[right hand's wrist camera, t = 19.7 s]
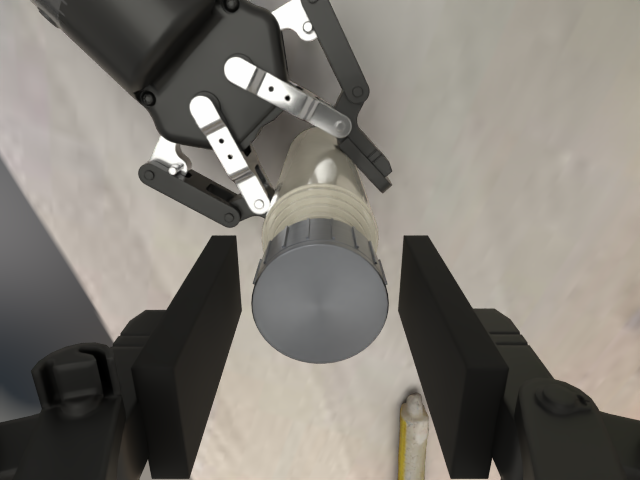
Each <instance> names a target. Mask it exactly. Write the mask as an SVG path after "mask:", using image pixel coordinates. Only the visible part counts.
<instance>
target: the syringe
mask: <svg viewBox="0 0 640 480" xmlns="http://www.w3.org/2000/svg"><path fill="white" fill-rule="evenodd" d="M428 418H429V417H428V415H427V413H426V411H425V408H424V406H423V404H422V398H421V395H420V394H419V393H414V394H412V395H409V396H408V397H407V400H406V403H403V404H402V406H401V409H400V441H399V455H398V480H424V474H425V455H426V445H427V437H428V431H429V429H428Z"/></svg>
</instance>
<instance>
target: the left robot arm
mask: <svg viewBox="0 0 640 480" xmlns="http://www.w3.org/2000/svg"><path fill="white" fill-rule="evenodd" d="M30 1H32V2H33V3H34V4H35V5H36V6H37V8H38V9H39V12H40V13H41V14H42V15H43V16H44V17H45V18H46V19H47V20H48V21H49V22H51V23H52V24H53V25H54V26H55V27H57V28H60V29H61V30H62V31H63V32H64V33H65V34H66V35H67V36H69V37H70V38H71V39H72V40H73V41H74V42H75V43H76V44H77V45H78V46H79V47H80V48H81V49H82V50H83V51H84V52H86V53H87V54H88V55H89V56H90V57H91V58H92V59H93V60H94V61H95V62H96V63H97V64H98V65H99V66H100V67H101V68H102V69H104V70H105V71H106V72H107V73H108V74H109V75H110V76H111V77H112V78H113V79H114V80H115V81H116V82H117V83H118V84H119V85H120V86H122V87H123V88H124V89H125V90H126V91H127V92H128V93H129V94H130V95H131V96H132V97H133V98H134V99H136V100H137V101H138V102H139V103H140V104H141V105H143V106H144V107H145V108H146V109H147V111H148V112H149V113H150V115H151V117H152V119H153V121H154V123H155V126H156V129H157V130H158V132H159V134H160V135H161V136H160V138H159V140H158V142H157V145H156V147H155V149H154V151H153V154H152V156H151V158H150V160H149V161H148V162H147V163H145V164H144V165H143V166H141V167H140V169H139V172H138V175H139V178H140V180H141V181H142V182H143V183H144V184H146V185H148V186H149V187H151V188H153V189H155V190H157V191H159V192H161V193H163V194H165V195H166V196H168V197H170V198H172V199H174V200H176V201H178V202H180V203H182V204H183V205H185V206H187V207H189V208H191V209H193V210H195V211H197V212H199V213H200V214H202V215H204V216H206V217H208V218H210V219H212V220H214V221H216V222H218V223H219V224H221V225H223V226H225V227H229V228H231V227H235V226H236V225H237V224H238V223H239V222H240V221H242V220H244V219H247V218H249V217H252V216H261V217H263V218H266V215H267V212H268V209H269V206H270V203H271V200H272V197H273V194H274V192H275V190H274V189H273V187H272V185H271V183H270V181H269V179H268V178H267V176H266V174H265V172H264V170H263V168H262V166H261V164H260V162H259V158H258V155H257V153H256V151H255V150H254V148H253V146H252V144H251V143H252V142H253V141H254V140H255V138H256V137H257V136H258V135H259V133H260V131H261V129H262V127H263V126H264V125H266V124H268V123H269V122H271V121H273V120H274V119H275V118H276V117H277V116H278V115H279V114H280V113H281V112H282V111H283V110H284V111H286V112H288V113H290V114H292V115H293V116H295V117H297V118H299V119H301V120H304V121H307V122H309V123H310V124H312V125H314V126H316V127H318V128H319V129H321V130H323V131H325V132H327V133H329V134H330V135H332V136H334V137H336V139H337V143H338V147H339V148H340V149H341V150H342V151H343V152H344V153H345V154H346V155H347V156H348V157H349V158H350V159H351V160H352V161H353V163H354V164H355V165H356V166H357V167H358V168H359V169H360V170H361V171H362V172H363V173H364V175H365V176H366V177H367V178H368V179H369V180H370V181H371V182H372V183H373V184H374V185H375V186H376V187H377V188H378V189H379V191H381V192H382V193H384V192H385V191H386V190H387V189H388V188H389V187H391V186H392V184H391V182H390V180H389V179H388V177H387V176H388V175H389V174H390V173H391V172H392V169H391V166H390V163H389V161H388V160H387V158H386V157H385V156H384V155H383V154H382V153H381V151H380V150H379V149H378V148H377V147H376V146H375V145H374V144H373V143H372V141H371V140H370V139H369V138H368V137H367V136H366V135H365V134H364V133H363V132H362V130H361V129H360V128H359V127H358V125H357V116H358V113H359V111H360V109H361V107H362V105H363V103H364V102H365V101H366V99H367V98H368V96H369V86H368V84H367V82H366V80H365V78H364V75H363V73H362V71H361V69H360V67H359V65H358V62H357V60H356V58H355V56H354V54H353V52H352V50H351V47H350V45H349V43H348V41H347V39H346V37H345V34H344V32H343V30H342V28H341V26H340V24H339V21H338V19H337V17H336V15H335V13H334V11H333V8H332V6H331V4H330V2H329V0H291V1H289V2H288V3H286V4H284V5H283V6H281V7H279V8H278V9H276V10H274V11H273V12H270V11H268V10H267V9H265V8H262V7H259V6H256V5H254V4H252V3H250V2H249V1H247V0H30ZM288 29H289V30H293V31H295V32H296V33H297V34H298V36H299V37H300V38H301V39H302V40H303V41H306V42H312V41H314V40H316V39H318V41H319V43H320V45H321V47H322V49H323V51H324V53H325V55H326V57H327V59H328V61H329V63H330V66H331V68H332V70H333V72H334V74H335V76H336V78H337V80H338V82H339V84H340V86H341V88H342V91H341V93H340V95H339V97H338V99H337V101H336V104H335V106H334V105H332V104H330V103H329V102H327V101H325V100H323V99H322V98H320V97H318V96H317V95H315V94H314V93H312V92H310V91H309V90H307V89H305V88H303V87H302V86H300V85H298V84H296V83H295V82H293V81H291V80H289V74H288V68H287V61H286V54H285V48H284V41H283V35H282V31H284V30H288ZM180 144H182V145H187V146H193V147H198V148H204V149H209V150H214V152H215V154H216V155H217V157H218V159H219V161H220V162H221V164H222V166H223V168H224V169H225V171H226V173H227V175H228V176H229V178H230V179H231V180H232V181H234V182H235V184H236V185H237V187H238V189H239V191H240V192H241V193H240V194H236V193H234V192H232V191H230V190H228V189H227V188H225V187H223V186H221V185H219V184H218V183H216V182H214V181H212V180H210V179H208V178H207V177H205V176H203V175H201V174H199V173H197V172H196V171H194V170H192V169H191V168H192V164H191V161H190V159H189V158H188V157H187V156H185V155H184V154H183V153H182V151H181V148H180ZM230 155H232V156H233V157H230Z"/></svg>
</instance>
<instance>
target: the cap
mask: <svg viewBox="0 0 640 480" xmlns="http://www.w3.org/2000/svg"><path fill="white" fill-rule="evenodd" d="M253 284H255V285H254V289H253V294H252V303H251V304H252V313H253V318H254V321H255V323H256V326H257V328H258V330H259V332H260V333H261V335H262V336H263V337H264V339H265V340H266V341H267V342H268V343H269V344H270V345H271V346H272V347H273V348H275V349H276V350H277V351H279V352H280V353H282V354H284V355H286V356H288V357H290V358H292V359H295V360H298V361H302V362H307V363H315V364H325V363H333V362H338V361H342V360H345V359H348V358H350V357H352V356H354V355H356V354H358V353H360V352H361V351H363V350H364V349H365V348H367V347H368V346H369V345H370V344H371V343H372V342H373V341H374V340H375V339H376V337H377V336H378V335H379V333H380V332H381V330H382V328H383V326H384V324H385V321H386V318H387V314H388V305H389V301H388V293H387V289H386V285H387V281H386V278H385V274H384V271H383V268H382V264H381V261H380V259H379V260H378V258H377V255H376V252H375V250H374V248H373V245H372V242H371V241H368V240H367V238H366V237H365V236H364V235H363V234H362V233H361V232H359V231H358V230H357V229H356V228H355V227H354V226H353V227H352V226H350V225H348V224H346V223H343V222H341V221H337V220H334V219H333V218H331V219H326V218H314V219H310V218H307V220H303V221H299V222H297V223H294V224H292V225H290V226H286V227H285V229H284V230H282V231H281V232H279V233H278V234H277V235H276V236H275V237H274V238H273V240H272V241H271V240H270V241H269V243H268V246H267V248H266V250H265V253H264V255H263V258H262V259H260V261H259V265H258V268H257V271H256V275H255V278H254V281H253Z"/></svg>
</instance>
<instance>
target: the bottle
mask: <svg viewBox="0 0 640 480" xmlns="http://www.w3.org/2000/svg"><path fill="white" fill-rule="evenodd" d="M307 218H310V219H314V218H326V219H331V218H333V219H334V220H337V221H341V222H343V223H346V224H348V225H350V226H352V227H353V226H354V227H355V228H356V229H357V230H358V231H359V232H361V233H362V234H363V235H364V236H365V237H366V238H367V240H368V241H371V242H372V245H373V248H374V250H375V252H376V251H377V247H378V228H377V224H376V221H375V218H374V215H373V212H372V209H371V206H370V203H369V200H368V198H367V195H366V192H365V189H364V186H363V183H362V180H361V177H360V175H359V172H358V169H357V166H356V165H355V164H354V163H353V161H352V160H351V159H350V158H349V157H348V156H347V155H346V154H345V153H344V152H343V151H342V150H341V149H340V148H339V147H338V143H337V139H336V137H334V136H332V135H330V134H329V133H327V132H325V131H323V130H321V129H319V128H318V127H313V128H309V129H307V130H305V131H303V132H301V133H300V134H299V135H298V136H297V137H296V138H295V139H294V140H293V142H292V144H291V146H290V148H289V151H288V154H287V157H286V160H285V163H284V165H283V168H282V171H281V174H280V177H279V180H278V183H277V186H276V189H275V192H274V194H273V197H272V200H271V203H270V206H269V209H268V212H267V215H266V218H265V220H264V224H263V228H262V246H263V251H264V253H265V250H266V248H267V246H268V243H269V241H270V240H271V241H272V240H273V238H274V237H275V236H276V235H277V234H278V233H279V232H281V231H282V230H284V229H285V227H286V226H290V225H292V224H294V223H297V222H299V221H303V220H307Z"/></svg>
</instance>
